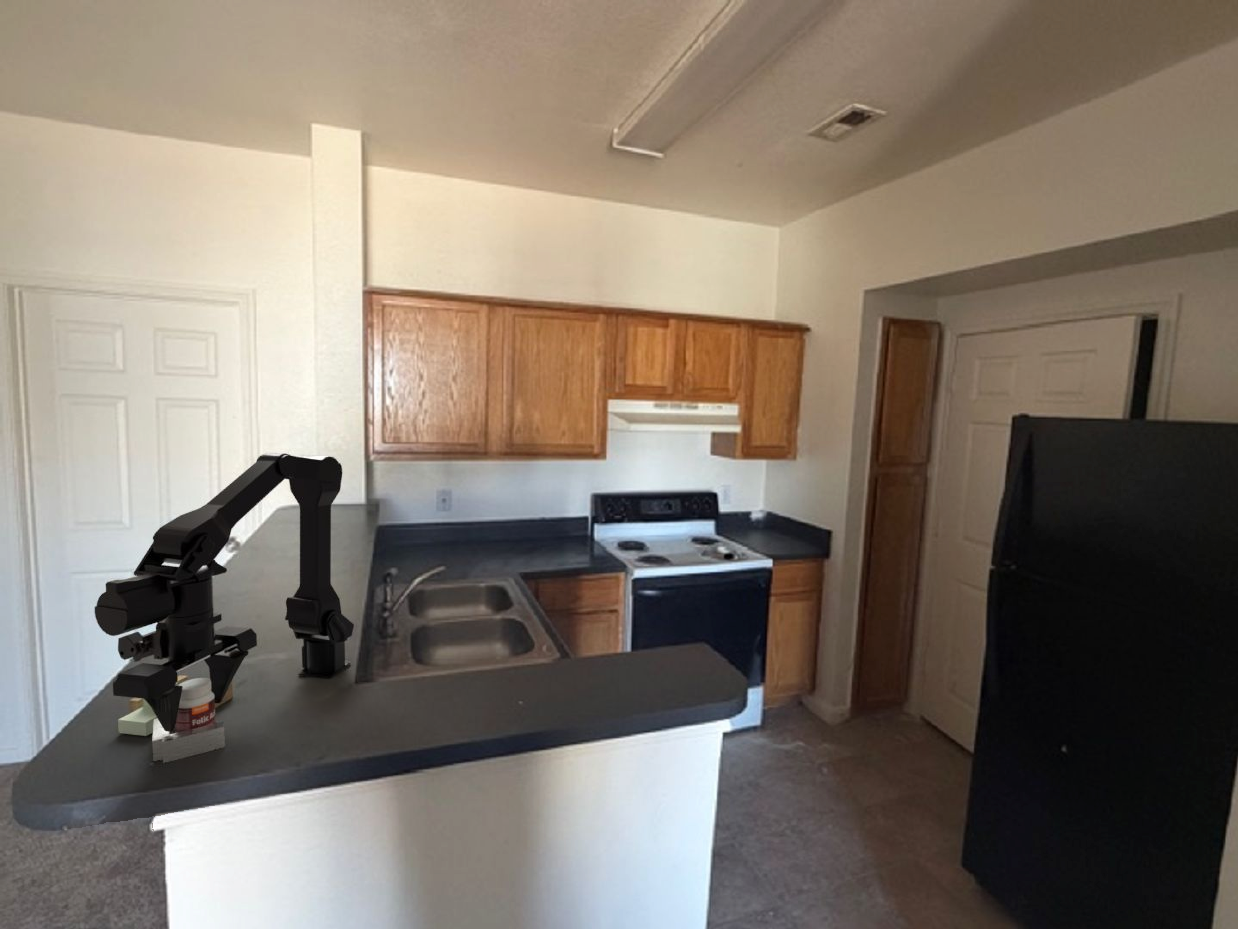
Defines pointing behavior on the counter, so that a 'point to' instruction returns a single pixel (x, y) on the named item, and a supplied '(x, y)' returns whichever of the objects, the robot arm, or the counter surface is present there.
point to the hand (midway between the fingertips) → (194, 716)
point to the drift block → (138, 721)
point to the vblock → (186, 741)
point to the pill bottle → (195, 705)
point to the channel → (138, 702)
